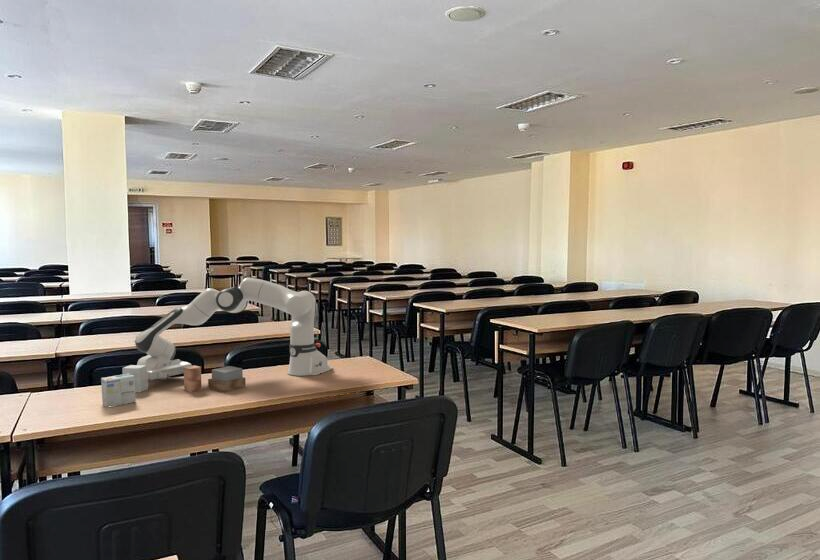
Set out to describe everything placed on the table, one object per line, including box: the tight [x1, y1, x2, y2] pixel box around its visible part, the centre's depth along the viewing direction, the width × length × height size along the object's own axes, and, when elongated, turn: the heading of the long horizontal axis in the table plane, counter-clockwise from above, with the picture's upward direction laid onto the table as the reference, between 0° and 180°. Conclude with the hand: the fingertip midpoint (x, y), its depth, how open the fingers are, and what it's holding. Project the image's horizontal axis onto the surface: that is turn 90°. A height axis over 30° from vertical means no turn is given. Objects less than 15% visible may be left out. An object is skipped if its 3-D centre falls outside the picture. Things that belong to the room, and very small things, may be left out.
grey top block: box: [211, 365, 244, 382], centre depth 239 cm, size 9×9×4 cm
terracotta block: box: [183, 365, 203, 393], centre depth 235 cm, size 5×5×10 cm
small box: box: [121, 364, 149, 393], centre depth 235 cm, size 8×6×10 cm
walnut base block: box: [207, 376, 246, 393], centre depth 239 cm, size 11×11×4 cm
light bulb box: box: [100, 373, 137, 408], centre depth 216 cm, size 11×7×11 cm, turn 135°
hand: (177, 373), depth 242 cm, fingers open, 8 cm apart
